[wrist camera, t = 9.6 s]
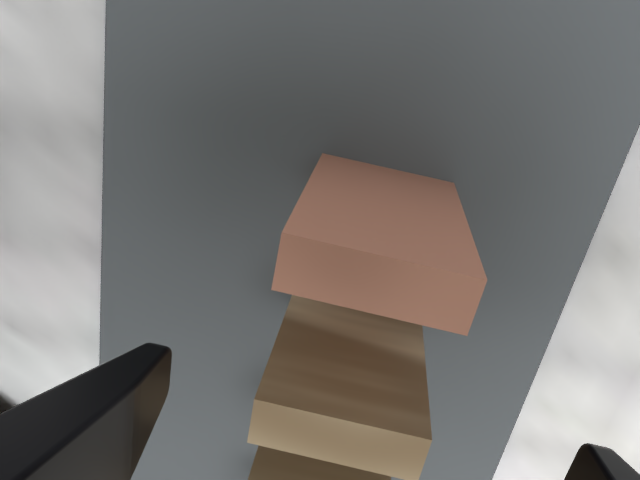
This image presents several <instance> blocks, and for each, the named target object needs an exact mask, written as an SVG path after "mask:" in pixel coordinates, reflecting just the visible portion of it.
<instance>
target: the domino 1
mask: <svg viewBox="0 0 640 480" xmlns="http://www.w3.org/2000/svg"><path fill="white" fill-rule="evenodd" d="M486 283H487V277H486V274H485V271H484V268H483V266H482V263H481V260H480V257H479V254H478V251H477V248H476V245H475V242H474V239H473V236H472V234H471V231H470V228H469V225H468V222H467V219H466V216H465V213H464V210H463V207H462V205H461V202H460V199H459V196H458V193H457V190H456V187H455V184H454V183H453V182H448V181H444V180H440V179H435V178H431V177H426V176H422V175H417V174H413V173H408V172H404V171H399V170H395V169H391V168H386V167H382V166H377V165H373V164H368V163H364V162H359V161H355V160H350V159H346V158H342V157H337V156H333V155H328V154H324V153H322V155H321V157H320V159H319V161H318V163H317V165H316V166H315V168H314V170H313V172H312V174H311V176H310V178H309V180H308V182H307V184H306V186H305V188H304V190H303V192H302V194H301V196H300V198H299V200H298V201H297V203H296V205H295V207H294V209H293V211H292V213H291V215H290V217H289V219H288V221H287V223H286V225H285V227H284V229H283V231H282V233H281V238H280V244H279V249H278V255H277V261H276V266H275V272H274V277H273V283H272V288H271V290H274V291H278V292H282V293H287V294H291V295H295V296H299V297H304V298H308V299H312V300H316V301H321V302H325V303H329V304H333V305H338V306H342V307H346V308H350V309H355V310H359V311H363V312H367V313H372V314H376V315H380V316H384V317H389V318H393V319H397V320H401V321H406V322H410V323H414V324H418V325H423V326H427V327H431V328H435V329H440V330H444V331H448V332H452V333H456V334H461V335H465V336H467V335H468V332H469V330H470V327H471V324H472V321H473V319H474V316H475V313H476V310H477V308H478V305H479V302H480V299H481V296H482V294H483V291H484V288H485V285H486Z"/></svg>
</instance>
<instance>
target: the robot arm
mask: <svg viewBox="0 0 640 480" xmlns="http://www.w3.org/2000/svg"><path fill="white" fill-rule="evenodd" d="M171 362H172V351H171V349H170V348H169V347H168V346H164V345H159V344H155V343H145V344H143V345H141V346H139V347H136V348H134V349H132V350H130V351H128V352H126V353H124V354H122V355H120V356H118V357H116V358H114V359H112V360H110V361H108V362H106V363H103V364H101V365H99V366H97V367H95V368H93V369H91V370H89V371H87V372H85V373H83V374H81V375H79V376H77V377H75V378H73V379H70V380H68V381H66V382H64V383H62V384H60V385H58V386H56V387H54V388H52V389H50V390H48V391H46V392H44V393H42V394H40V395H37V396H35V397H33V398H31V399H29V400H27V401H25V402H23V403H21V404H19V405H17V406H15V407H13V408H11V409H9V410H7V411H4V412H2V413H0V480H131V477H132V475H133V473H134V471H135V469H136V467H137V464H138V462H139V460H140V457H141V455H142V453H143V451H144V448H145V446H146V444H147V442H148V439H149V437H150V435H151V432H152V430H153V428H154V426H155V423H156V421H157V419H158V417H159V414H160V412H161V410H162V407H163V405H164V403H165V401H166V398H167V395H168V391H169V386H170V374H171ZM564 480H640V474H638V473H637V472H636V471H635V470H634V469H633V468H632V467H631V466H630V465H629V464H627V463H626V462H625V461H624V460H623V459H622V458H621V457H620V456H619V455H618V454H616V453H615V452H614V451H613V450H612V449H610V448H607V447H602V446H598V445H594V444H589V443H587V444H584V445H582V446H581V447H580V449H579V450H578V452H577V454H576V456H575V458H574V460H573V462H572V464H571V467H570V469H569V471H568V473H567V475H566V477H565V479H564Z"/></svg>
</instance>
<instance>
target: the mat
mask: <svg viewBox="0 0 640 480" xmlns="http://www.w3.org/2000/svg"><path fill="white" fill-rule="evenodd" d="M639 125H640V0H106V26H105V82H104V139H103V195H102V251H101V307H100V363H99V365H101V364H103V363H106V362H108V361H110V360H112V359H114V358H116V357H118V356H120V355H122V354H124V353H126V352H128V351H130V350H132V349H134V348H136V347H139V346H141V345H143V344H145V343H155V344H159V345H164V346H168V347H169V348H170V349H171V351H172V362H171V374H170V386H169V391H168V395H167V398H166V401H165V403H164V405H163V407H162V410H161V412H160V414H159V417H158V419H157V421H156V423H155V426H154V428H153V430H152V432H151V435H150V437H149V439H148V442H147V444H146V446H145V448H144V451H143V453H142V455H141V457H140V460H139V462H138V464H137V467H136V469H135V471H134V473H133V475H132V477H131V480H248V477H249V474H250V471H251V468H252V465H253V461H254V458H255V455H256V452H257V449H258V446H259V445H255V444H251V443H247V440H248V434H249V427H250V421H251V415H252V409H253V403H254V398H255V395H256V393H257V390H258V387H259V384H260V382H261V379H262V376H263V373H264V371H265V368H266V365H267V362H268V360H269V357H270V354H271V351H272V349H273V346H274V343H275V340H276V338H277V335H278V332H279V329H280V327H281V324H282V321H283V318H284V316H285V313H286V310H287V307H288V305H289V302H290V299H291V296H292V295H291V294H287V293H282V292H278V291H274V290H271V288H272V283H273V277H274V272H275V266H276V261H277V255H278V249H279V244H280V238H281V233H282V231H283V229H284V227H285V225H286V223H287V221H288V219H289V217H290V215H291V213H292V211H293V209H294V207H295V205H296V203H297V201H298V200H299V198H300V196H301V194H302V192H303V190H304V188H305V186H306V184H307V182H308V180H309V178H310V176H311V174H312V172H313V170H314V168H315V166H316V165H317V163H318V161H319V159H320V157H321V155H322V153H324V154H328V155H333V156H337V157H342V158H346V159H350V160H355V161H359V162H364V163H368V164H373V165H377V166H382V167H386V168H391V169H395V170H399V171H404V172H408V173H413V174H417V175H422V176H426V177H431V178H435V179H440V180H444V181H448V182H453V183H454V184H455V187H456V190H457V193H458V196H459V199H460V202H461V205H462V207H463V210H464V213H465V216H466V219H467V222H468V225H469V228H470V231H471V234H472V236H473V239H474V242H475V245H476V248H477V251H478V254H479V257H480V260H481V263H482V266H483V268H484V271H485V274H486V277H487V283H486V285H485V288H484V291H483V294H482V296H481V299H480V302H479V305H478V308H477V310H476V313H475V316H474V319H473V321H472V324H471V327H470V330H469V332H468V335H467V336H465V335H461V334H456V333H452V332H448V331H444V330H440V329H435V328H431V327H427V326H423V325H422V328H423V340H424V351H425V363H426V374H427V386H428V397H429V409H430V421H431V432H432V442H431V445H430V448H429V451H428V454H427V457H426V460H425V463H424V466H423V469H422V472H421V475H420V477H419V480H492V478H493V476H494V473H495V471H496V469H497V466H498V464H499V461H500V459H501V457H502V454H503V452H504V449H505V447H506V445H507V442H508V440H509V437H510V435H511V433H512V430H513V428H514V425H515V423H516V420H517V418H518V416H519V413H520V411H521V408H522V406H523V404H524V401H525V399H526V396H527V394H528V392H529V389H530V387H531V384H532V382H533V380H534V377H535V375H536V372H537V370H538V368H539V365H540V363H541V360H542V358H543V356H544V353H545V351H546V348H547V346H548V344H549V341H550V339H551V336H552V334H553V332H554V329H555V327H556V324H557V322H558V320H559V317H560V315H561V312H562V310H563V308H564V305H565V303H566V300H567V298H568V296H569V293H570V291H571V288H572V286H573V284H574V281H575V279H576V276H577V274H578V272H579V269H580V267H581V264H582V262H583V260H584V257H585V255H586V252H587V250H588V248H589V245H590V243H591V240H592V238H593V236H594V233H595V231H596V228H597V226H598V224H599V221H600V219H601V216H602V214H603V212H604V209H605V207H606V204H607V202H608V200H609V197H610V195H611V192H612V190H613V188H614V185H615V183H616V180H617V178H618V176H619V173H620V171H621V168H622V166H623V164H624V161H625V159H626V156H627V154H628V152H629V149H630V147H631V144H632V142H633V140H634V137H635V135H636V132H637V130H638V128H639ZM391 480H404V479H400V478H395V477H391Z"/></svg>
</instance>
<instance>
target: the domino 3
mask: <svg viewBox="0 0 640 480" xmlns="http://www.w3.org/2000/svg"><path fill="white" fill-rule="evenodd" d="M248 480H391V476H387V475H383V474H378V473H374V472H370V471H366V470H361V469H357V468H353V467H349V466H344V465H340V464H336V463H332V462H327V461H323V460H319V459H315V458H310V457H306V456H302V455H298V454H293V453H289V452H285V451H281V450H276V449H272V448H268V447H264V446H258V449H257V452H256V455H255V458H254V461H253V465H252V468H251V471H250V474H249V477H248Z"/></svg>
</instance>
